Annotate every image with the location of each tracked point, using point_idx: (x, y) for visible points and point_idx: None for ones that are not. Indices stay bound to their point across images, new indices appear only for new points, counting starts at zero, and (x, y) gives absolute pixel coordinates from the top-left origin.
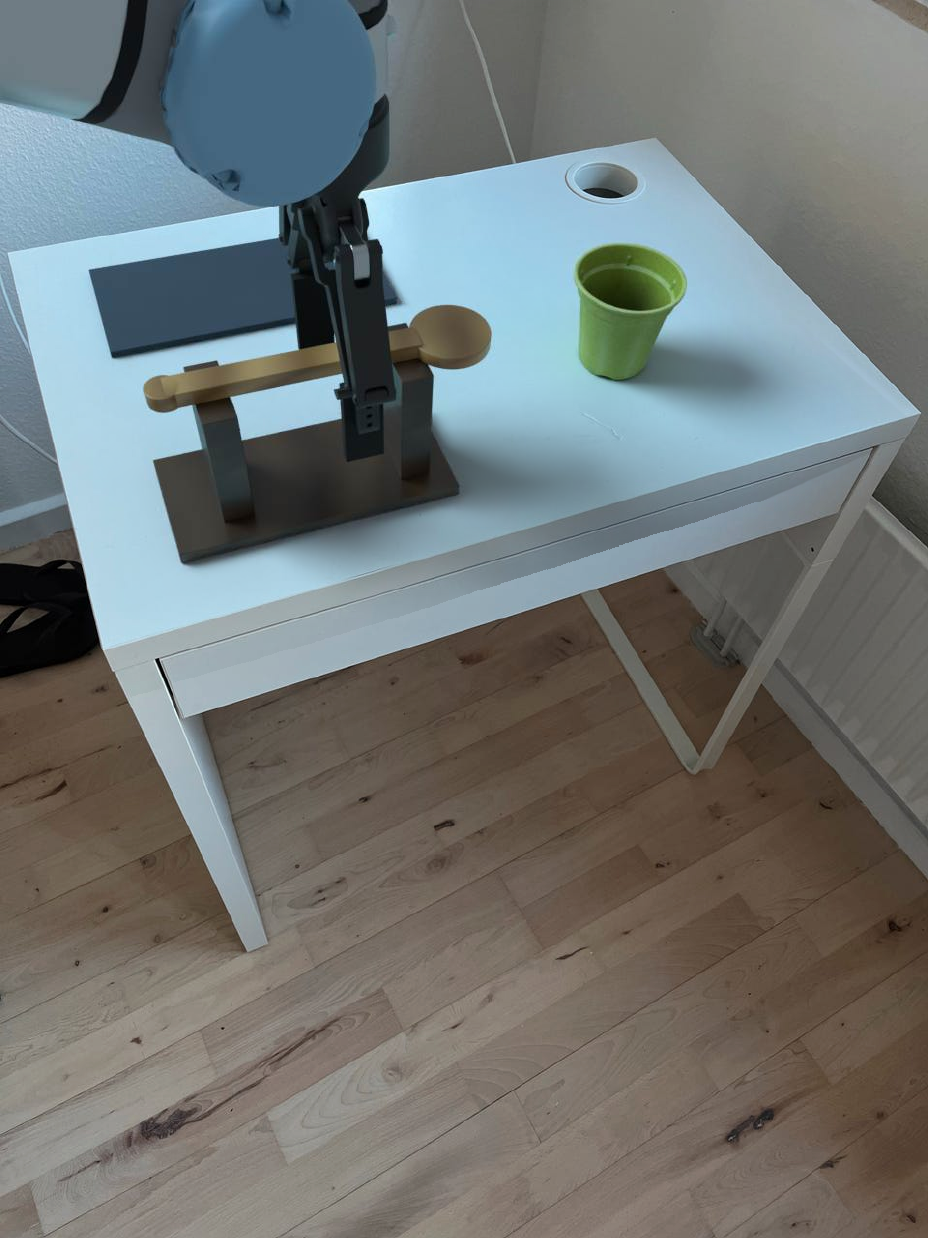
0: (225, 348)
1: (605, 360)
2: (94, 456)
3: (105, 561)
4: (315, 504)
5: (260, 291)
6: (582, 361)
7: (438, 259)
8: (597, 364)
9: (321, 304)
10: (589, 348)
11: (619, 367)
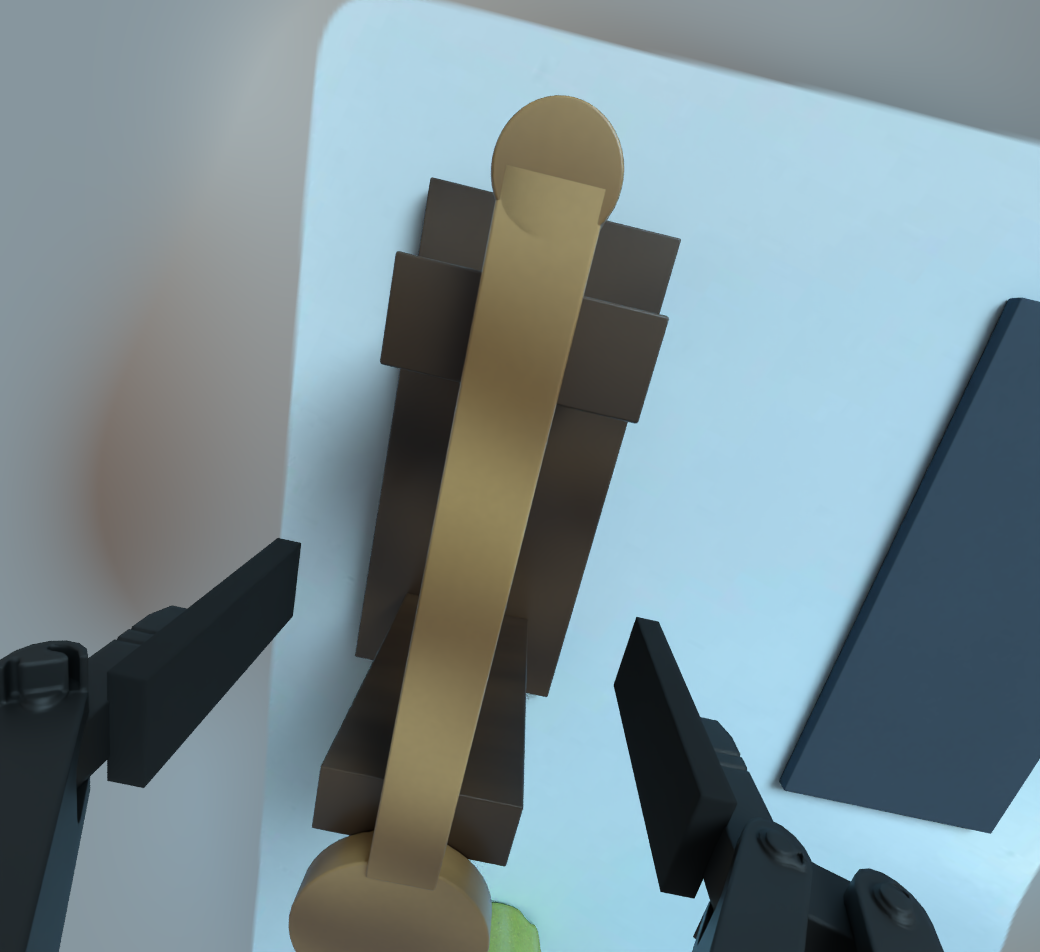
0: (875, 501)
1: None
2: (777, 144)
3: (511, 47)
4: (423, 452)
5: (960, 623)
6: (499, 908)
7: None
8: None
9: (645, 766)
10: None
11: None
